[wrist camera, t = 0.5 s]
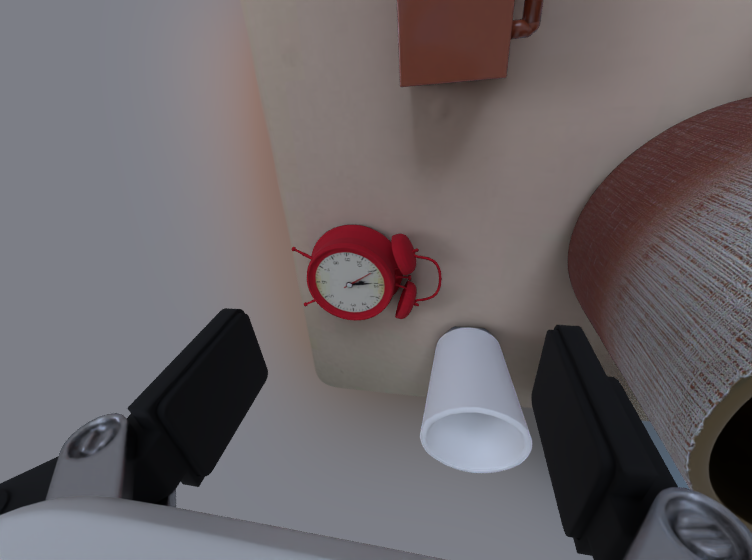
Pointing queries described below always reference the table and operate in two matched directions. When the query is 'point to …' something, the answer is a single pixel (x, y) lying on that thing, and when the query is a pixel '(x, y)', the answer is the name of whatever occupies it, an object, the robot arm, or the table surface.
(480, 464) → the cup
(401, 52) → the brown handled box
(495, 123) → the table surface
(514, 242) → the table surface
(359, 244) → the alarm clock
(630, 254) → the planter
